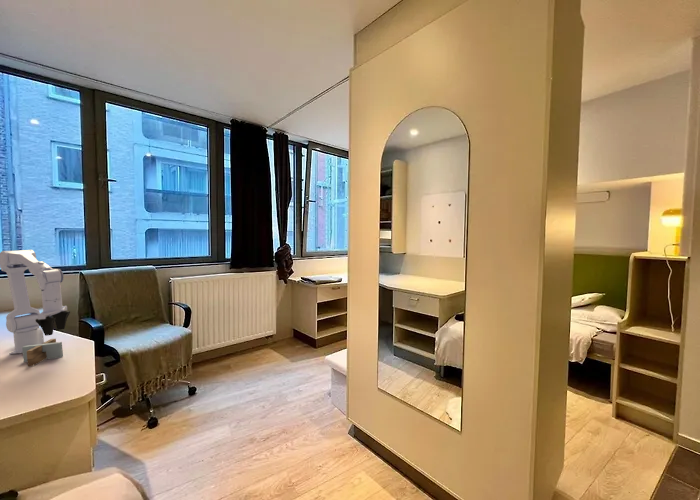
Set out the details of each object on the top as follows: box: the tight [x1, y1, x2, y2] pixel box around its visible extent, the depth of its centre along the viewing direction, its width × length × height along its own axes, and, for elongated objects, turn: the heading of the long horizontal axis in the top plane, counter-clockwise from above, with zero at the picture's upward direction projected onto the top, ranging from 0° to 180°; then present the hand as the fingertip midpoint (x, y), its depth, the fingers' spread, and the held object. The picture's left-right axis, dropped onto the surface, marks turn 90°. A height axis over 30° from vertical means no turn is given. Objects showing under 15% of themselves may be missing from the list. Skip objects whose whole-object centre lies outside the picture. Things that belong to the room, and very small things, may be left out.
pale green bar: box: [22, 341, 64, 363], centre depth 123 cm, size 2×12×6 cm, turn 106°
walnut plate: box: [27, 338, 57, 367], centre depth 123 cm, size 14×2×6 cm, turn 16°
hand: (55, 332), depth 124 cm, fingers open, 7 cm apart
